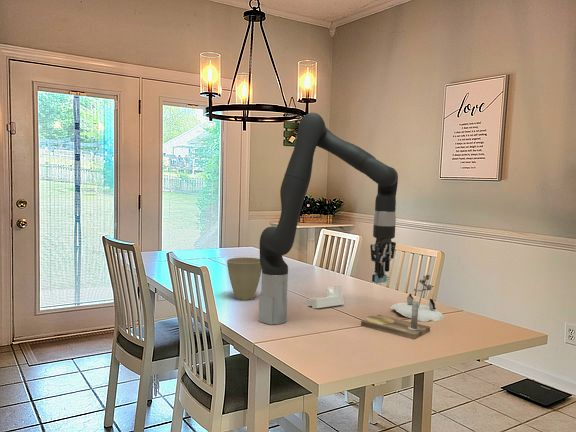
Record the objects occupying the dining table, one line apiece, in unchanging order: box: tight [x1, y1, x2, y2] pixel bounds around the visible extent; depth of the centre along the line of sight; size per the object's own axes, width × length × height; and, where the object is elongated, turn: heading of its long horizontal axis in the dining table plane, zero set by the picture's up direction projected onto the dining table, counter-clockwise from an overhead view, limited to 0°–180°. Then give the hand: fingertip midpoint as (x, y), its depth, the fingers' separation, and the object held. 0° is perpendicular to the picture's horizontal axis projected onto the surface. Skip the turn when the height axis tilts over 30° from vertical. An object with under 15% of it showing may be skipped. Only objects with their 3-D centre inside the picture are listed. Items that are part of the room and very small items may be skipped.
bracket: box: [305, 285, 345, 309], centre depth 200 cm, size 13×7×8 cm, turn 122°
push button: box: [371, 253, 390, 284], centre depth 176 cm, size 7×5×10 cm
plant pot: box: [226, 256, 262, 301], centre depth 208 cm, size 15×15×16 cm
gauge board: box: [360, 301, 431, 340], centre depth 173 cm, size 12×21×10 cm, turn 50°
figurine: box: [390, 273, 445, 323], centre depth 191 cm, size 20×18×16 cm
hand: (382, 272), depth 176 cm, fingers closed on push button, 5 cm apart
